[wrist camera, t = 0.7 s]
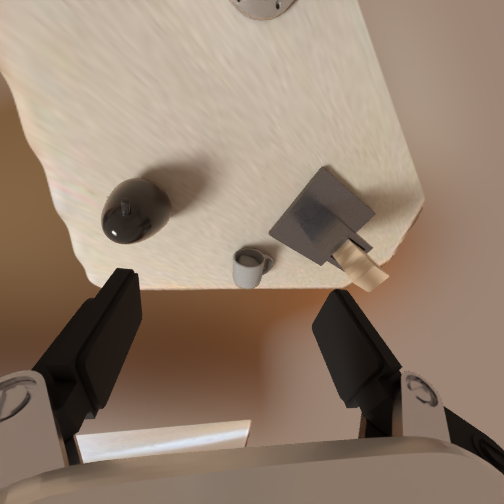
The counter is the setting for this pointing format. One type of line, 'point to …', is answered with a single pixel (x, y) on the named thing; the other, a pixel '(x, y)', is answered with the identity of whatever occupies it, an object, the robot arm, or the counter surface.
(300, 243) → the stand
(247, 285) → the ceramic mug
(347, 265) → the post
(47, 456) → the robot arm
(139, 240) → the pump dispenser
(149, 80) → the counter surface
